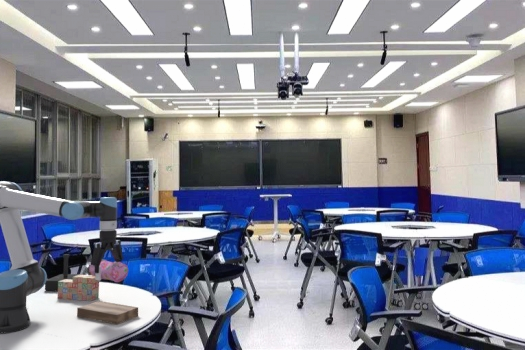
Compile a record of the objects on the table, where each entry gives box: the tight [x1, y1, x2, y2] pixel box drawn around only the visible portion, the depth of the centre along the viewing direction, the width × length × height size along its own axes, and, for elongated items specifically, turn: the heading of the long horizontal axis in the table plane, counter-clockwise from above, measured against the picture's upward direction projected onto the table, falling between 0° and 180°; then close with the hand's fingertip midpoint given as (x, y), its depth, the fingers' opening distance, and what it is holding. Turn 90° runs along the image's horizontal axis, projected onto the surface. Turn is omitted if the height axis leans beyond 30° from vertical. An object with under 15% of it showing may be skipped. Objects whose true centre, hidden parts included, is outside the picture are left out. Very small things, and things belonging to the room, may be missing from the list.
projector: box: [44, 253, 85, 292], centre depth 239 cm, size 19×17×20 cm
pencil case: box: [87, 259, 129, 283], centre depth 183 cm, size 21×9×9 cm, turn 51°
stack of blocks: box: [57, 274, 100, 302], centre depth 215 cm, size 21×6×12 cm, turn 78°
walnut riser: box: [76, 300, 139, 325], centre depth 184 cm, size 13×25×4 cm, turn 65°
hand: (107, 277), depth 183 cm, fingers closed on pencil case, 10 cm apart
